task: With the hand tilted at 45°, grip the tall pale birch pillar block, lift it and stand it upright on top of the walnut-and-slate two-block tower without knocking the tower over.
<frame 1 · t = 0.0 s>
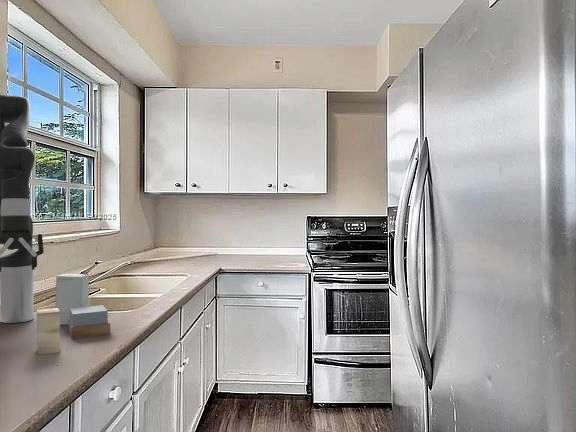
hand: (16, 270, 148), 17 cm above the table, tool pointing down, fingers open, 8 cm apart
slate top block: (88, 321, 145), point 3 cm above the table, touching walnut base block
walnut base block: (89, 333, 145), on the table, touching slate top block
birch pillar block: (48, 350, 127), on the table
skincare box: (72, 323, 157), on the table
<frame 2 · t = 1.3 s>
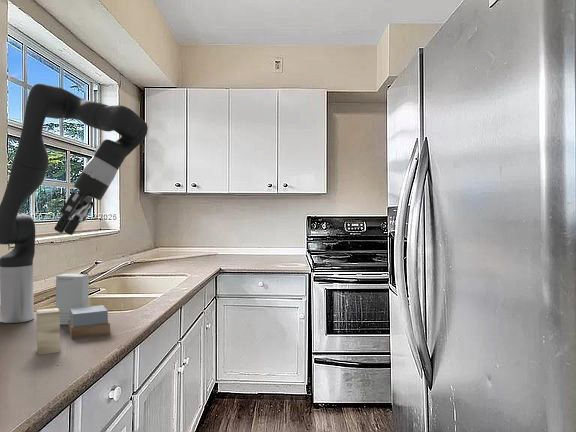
hand: (62, 232, 130), 29 cm above the table, tool tilted 30°, fingers open, 8 cm apart
nothing on the table moved.
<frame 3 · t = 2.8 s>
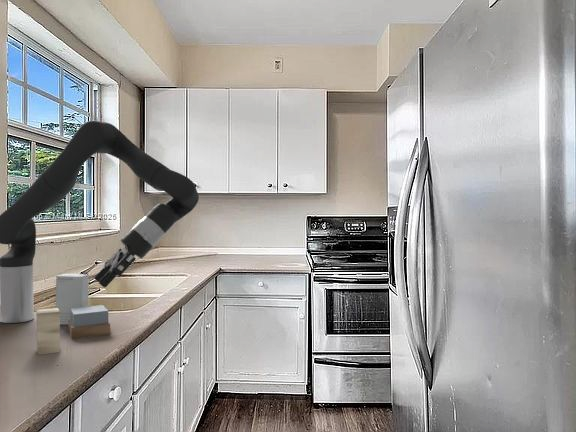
hand: (99, 282, 132), 16 cm above the table, tool tilted 45°, fingers open, 8 cm apart
slate top block: (89, 321, 145), point 3 cm above the table
walnut base block: (89, 334, 145), on the table
everything else where it was.
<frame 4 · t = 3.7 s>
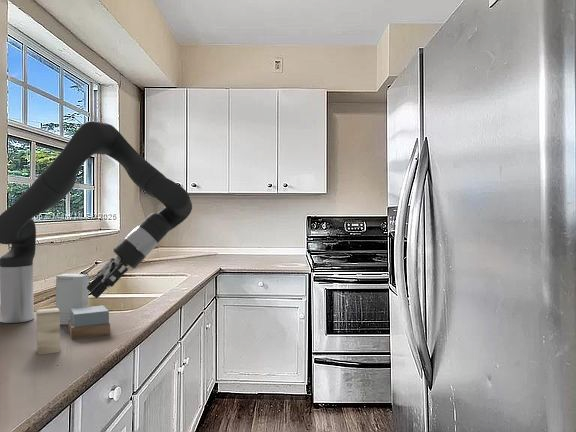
hand: (91, 293, 132), 13 cm above the table, tool tilted 45°, fingers open, 8 cm apart
slate top block: (89, 321, 145), point 3 cm above the table, touching walnut base block
walnut base block: (89, 334, 145), on the table, touching slate top block
everything else where it was.
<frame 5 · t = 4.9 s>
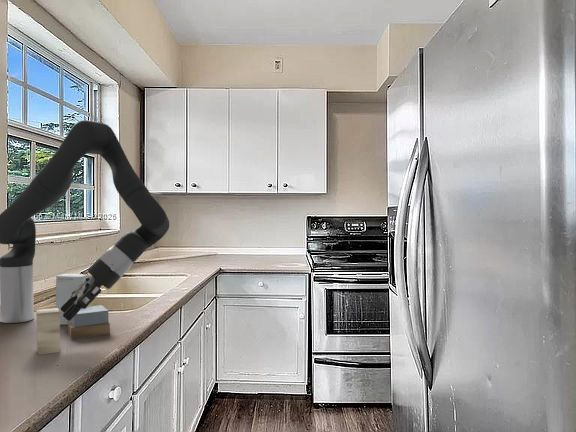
hand: (64, 314, 129), 8 cm above the table, tool tilted 45°, fingers open, 8 cm apart
nothing on the table moved.
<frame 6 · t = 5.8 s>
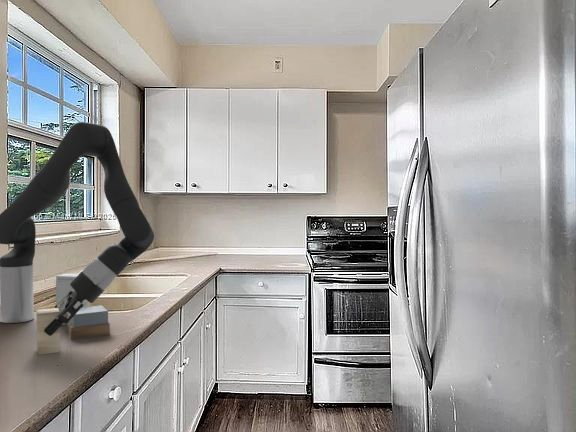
hand: (45, 329, 127), 5 cm above the table, tool tilted 45°, fingers open, 8 cm apart
nothing on the table moved.
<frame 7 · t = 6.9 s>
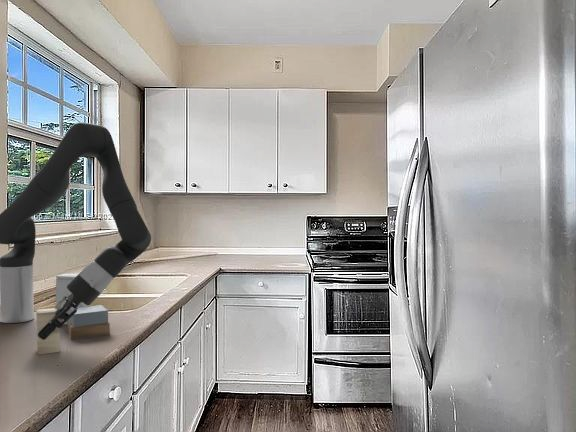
hand: (40, 334, 126), 4 cm above the table, tool tilted 45°, fingers closed on birch pillar block, 5 cm apart
birch pillar block: (48, 350, 127), on the table, touching gripper
everything else where it was.
when the fingers open (13 cm above the table, at t = 13.0 s): birch pillar block drops 2 cm, resting on slate top block.
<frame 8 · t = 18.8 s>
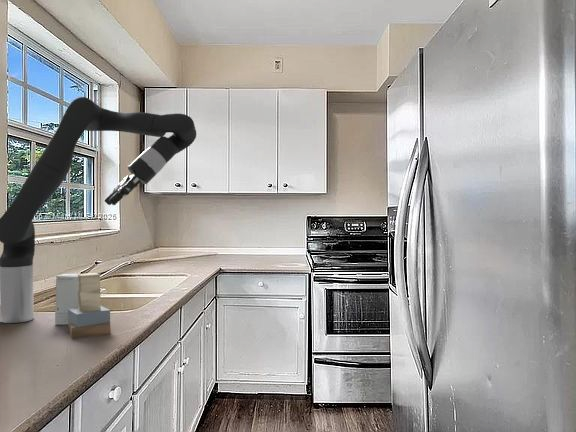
hand: (108, 203, 151), 37 cm above the table, tool tilted 45°, fingers open, 8 cm apart
slate top block: (89, 321, 145), point 3 cm above the table, touching birch pillar block, walnut base block
birch pillar block: (89, 309, 144), point 7 cm above the table, touching slate top block
everything else where it was.
at the end: birch pillar block 0.4 cm off-centre on the walnut base block, point 7.0 cm above the walnut base block's base; birch pillar block tilted 0°; slate top block 0.1 cm off-centre on the walnut base block, point 3.5 cm above the walnut base block's base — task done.
